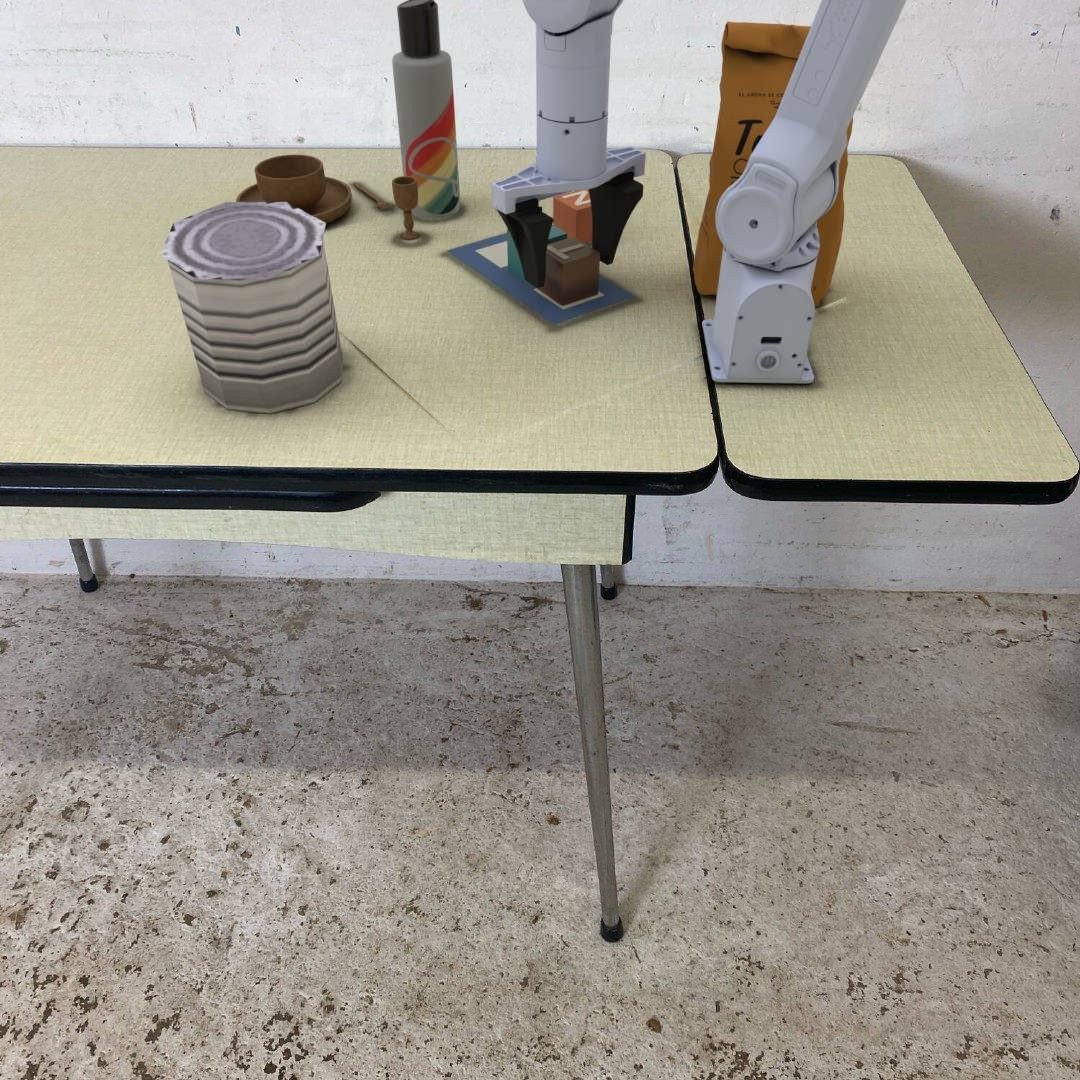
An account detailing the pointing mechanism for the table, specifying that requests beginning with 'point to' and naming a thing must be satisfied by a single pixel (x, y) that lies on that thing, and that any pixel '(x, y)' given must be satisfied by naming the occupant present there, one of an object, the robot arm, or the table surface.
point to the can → (257, 304)
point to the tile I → (513, 256)
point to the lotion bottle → (426, 110)
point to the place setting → (321, 190)
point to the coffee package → (757, 139)
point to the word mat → (493, 265)
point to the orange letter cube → (574, 215)
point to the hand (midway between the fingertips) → (569, 271)
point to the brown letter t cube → (571, 271)
